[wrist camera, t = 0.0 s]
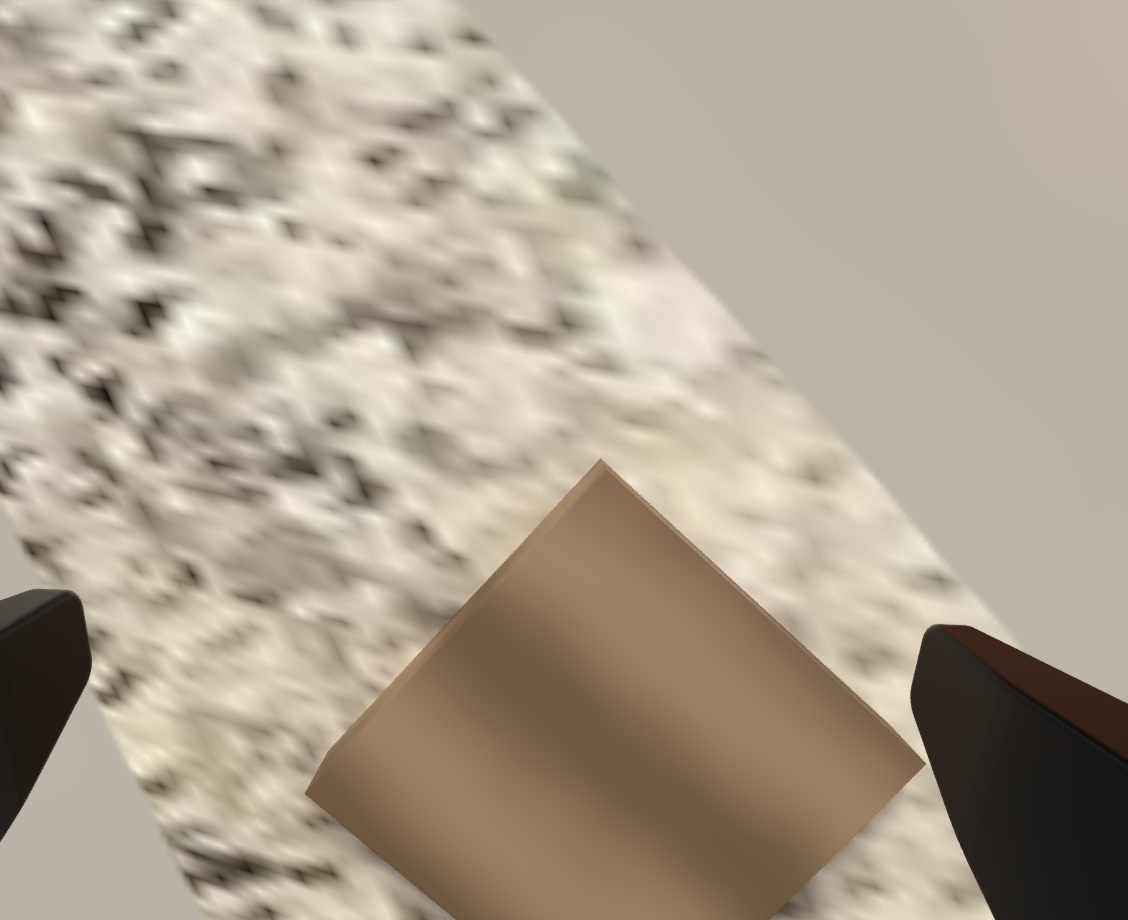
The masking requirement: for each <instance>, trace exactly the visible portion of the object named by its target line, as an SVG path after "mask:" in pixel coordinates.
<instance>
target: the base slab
mask: <svg viewBox="0 0 1128 920" xmlns="http://www.w3.org/2000/svg"><path fill="white" fill-rule="evenodd" d="M925 765H926V763H925V762H924V761H923V760H922V759H921V758H920V757H919V756H918V755H917V753H916V752H915V751H914V750H913V749H912V748H911V747H910V746H909V745H908V744H907V743H906V742H905V741H904V740H903V739H902V738H901V736H900V735H899V734H898V733H897V732H896V731H895V730H894V729H893V728H892V727H891V726H890V725H889V724H888V723H887V722H886V721H885V720H884V719H883V718H882V717H881V716H879V715H878V714H877V713H876V712H875V711H874V710H873V709H872V708H871V707H870V706H869V705H868V704H866V703H865V702H864V701H863V700H862V699H861V698H860V697H859V696H858V695H857V694H856V693H854V692H853V691H852V690H851V689H850V688H849V687H848V686H847V685H846V684H845V683H844V682H843V681H841V680H840V679H839V678H838V677H837V676H836V675H835V674H834V673H833V672H832V671H831V670H830V669H828V668H827V667H826V666H825V665H824V664H823V663H822V662H821V661H820V660H819V659H818V658H816V657H815V656H814V655H813V654H812V653H811V652H810V651H809V650H808V649H807V648H806V647H805V646H803V645H802V644H801V643H800V642H799V641H798V640H797V639H796V638H795V637H794V636H793V635H791V634H790V633H789V632H788V631H787V630H786V629H785V628H784V627H783V626H782V625H781V624H780V623H778V622H777V621H776V620H775V619H774V618H773V617H772V616H771V615H770V614H769V613H768V612H767V611H765V610H764V609H763V608H762V607H761V606H760V605H759V604H758V603H757V602H756V601H755V600H753V599H752V598H751V597H750V596H749V595H748V594H747V593H746V592H745V591H744V590H743V589H742V588H740V587H739V586H738V585H737V584H736V583H735V582H734V581H733V580H732V579H731V578H730V577H728V576H727V575H726V574H725V573H724V572H723V571H722V570H721V569H720V568H719V567H718V566H717V565H715V564H714V563H713V562H712V561H711V560H710V559H709V558H708V557H707V556H706V555H705V554H703V553H702V552H701V551H700V550H699V549H698V548H697V547H696V546H695V545H694V544H693V543H692V542H690V541H689V540H688V539H687V538H686V537H685V536H684V535H683V534H682V533H681V532H680V531H679V530H677V529H676V528H675V527H674V526H673V525H672V524H671V523H670V522H669V521H668V520H667V519H665V518H664V517H663V516H662V515H661V514H660V513H659V512H658V511H657V510H656V509H655V508H654V507H652V506H651V505H650V504H649V503H648V502H647V501H646V500H645V499H644V498H643V497H642V496H640V495H639V494H638V493H637V492H636V491H635V490H634V489H633V488H632V487H631V486H630V485H629V484H627V483H626V482H625V481H624V480H623V479H622V478H621V477H620V476H619V475H618V474H617V473H616V472H614V471H613V470H612V469H611V468H610V467H609V466H608V465H607V464H606V463H605V462H604V461H602V460H601V459H600V460H599V461H598V462H597V463H596V464H595V465H594V466H593V467H592V468H591V469H590V471H589V472H588V473H587V474H586V475H585V476H584V477H583V478H582V479H581V480H580V481H579V482H578V483H577V484H576V486H575V487H574V488H573V489H572V490H571V491H570V492H569V493H568V494H567V495H566V496H565V497H564V498H563V500H562V501H561V502H560V503H559V504H558V505H557V506H556V507H555V508H554V509H553V510H552V511H551V512H550V513H549V515H548V516H547V517H546V518H545V519H544V520H543V521H542V522H541V523H540V524H539V525H538V526H537V527H536V529H535V530H534V531H533V532H532V533H531V534H530V535H529V536H528V537H527V538H526V539H525V540H524V541H523V542H522V544H521V545H520V546H519V547H518V548H517V549H516V550H515V551H514V552H513V553H512V554H511V555H510V556H509V558H508V559H507V560H506V561H505V562H504V563H503V564H502V565H501V566H500V567H499V568H498V569H497V570H496V571H495V573H494V574H493V575H492V576H491V577H490V578H489V579H488V580H487V581H486V582H485V583H484V584H483V585H482V587H481V588H480V589H479V590H478V591H477V592H476V593H475V594H474V595H473V596H472V597H471V598H470V599H469V600H468V602H467V603H466V604H465V605H464V606H463V607H462V608H461V609H460V610H459V611H458V612H457V613H456V614H455V616H454V617H453V618H452V619H451V620H450V621H449V622H448V623H447V624H446V625H445V626H444V627H443V628H442V629H441V631H440V632H439V633H438V634H437V635H436V636H435V637H434V638H433V639H432V640H431V641H430V642H429V643H428V645H427V646H426V647H425V648H424V649H423V650H422V651H421V652H420V653H419V654H418V655H417V656H416V657H415V658H414V660H413V661H412V662H411V663H410V664H409V665H408V666H407V667H406V668H405V669H404V670H403V671H402V672H401V674H400V675H399V676H398V677H397V678H396V679H395V680H394V681H393V682H392V683H391V684H390V685H389V686H388V687H387V689H386V690H385V691H384V692H383V693H382V694H381V695H380V696H379V697H378V698H377V699H376V700H375V701H374V703H373V704H372V705H371V706H370V707H369V708H368V709H367V710H366V711H365V712H364V713H363V714H362V715H361V716H360V718H359V719H358V720H357V721H356V722H355V723H354V724H353V725H352V726H351V727H350V728H349V729H348V730H347V732H346V733H345V734H344V735H343V736H342V737H341V738H340V739H339V740H338V741H337V742H336V743H335V744H334V745H333V747H332V748H331V749H330V750H329V751H328V753H327V755H326V756H325V758H324V760H323V762H322V764H321V765H320V767H319V769H318V771H317V772H316V774H315V776H314V778H313V780H312V781H311V783H310V785H309V787H308V789H307V790H306V792H305V794H306V795H307V796H308V797H309V798H310V799H312V800H313V801H314V802H315V803H316V804H318V805H319V806H320V807H321V808H323V809H324V810H325V811H326V812H327V813H329V814H330V815H331V816H332V817H333V818H335V819H336V820H337V821H338V822H339V823H341V824H342V825H343V826H344V827H345V828H347V829H348V830H349V831H350V832H351V833H353V834H354V835H355V836H356V837H357V838H359V839H360V840H361V841H362V842H363V843H365V844H366V845H367V846H368V847H369V848H371V849H372V850H373V851H374V852H376V853H377V854H378V855H379V856H380V857H382V858H383V859H384V860H385V861H386V862H388V863H389V864H390V865H391V866H392V867H394V868H395V869H396V870H397V871H398V872H400V873H401V874H402V875H403V876H404V877H406V878H407V879H408V880H409V881H410V882H412V883H413V884H414V885H415V886H416V887H418V888H419V889H420V890H421V891H422V892H424V893H425V894H426V895H427V896H429V897H430V898H431V899H432V900H433V901H435V902H436V903H437V904H438V905H439V906H441V907H442V908H443V909H444V910H445V911H447V912H448V913H449V914H450V915H451V916H453V917H454V918H455V919H456V920H770V919H771V918H772V917H773V916H774V915H775V914H776V913H777V912H778V911H779V910H780V909H781V908H782V907H783V906H784V905H785V904H786V903H787V902H788V901H789V900H790V899H791V898H792V897H793V896H794V895H795V894H796V893H797V892H798V891H799V890H800V889H801V888H802V887H803V886H804V885H805V884H806V883H807V882H808V881H809V880H810V879H811V878H812V877H813V876H814V875H815V874H816V873H817V872H818V871H819V870H820V869H821V868H822V867H823V866H824V865H825V864H826V863H827V862H828V861H829V860H830V859H831V858H832V857H833V856H834V855H835V854H836V853H837V852H838V851H839V850H840V849H841V848H842V847H843V846H844V845H845V844H846V843H847V842H848V841H849V840H850V839H851V838H852V837H853V836H854V835H855V834H856V833H857V832H858V831H859V830H860V829H861V828H862V827H863V826H864V825H865V824H866V823H867V822H868V821H869V820H870V819H871V818H872V817H873V816H874V815H875V814H876V813H877V812H878V811H879V810H880V809H881V808H882V807H883V806H884V805H885V804H886V803H887V802H888V801H889V800H890V799H891V798H892V797H893V796H894V795H895V794H896V793H898V792H899V791H900V790H901V789H902V788H903V787H904V786H905V785H906V784H907V783H908V782H909V781H910V780H911V779H912V778H913V777H914V776H915V775H916V774H917V773H918V772H919V771H920V770H921V769H922V768H923V767H924V766H925Z"/></svg>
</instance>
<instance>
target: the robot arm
mask: <svg viewBox="0 0 1128 920" xmlns="http://www.w3.org/2000/svg"><path fill="white" fill-rule="evenodd" d="M91 667H92V656H91V650H90V644H89V638H88V633H87V627H86V621H85V616H84V610H83V605H82V602H81V600H80V598H79V596H78V595H77V594H75V593H74V592H73V591H70V590H56V589H32V590H29V591H26V592H23V593H20V594H17V595H14V596H12V597H9V598H6V599H3V600H0V842H1V840H2V839H3V837H4V836H5V834H6V833H7V831H8V829H9V828H10V826H11V824H12V823H13V821H14V820H15V818H16V816H17V815H18V813H19V812H20V810H21V808H22V806H23V805H24V803H25V801H26V799H27V798H28V796H29V794H30V792H31V790H32V789H33V787H34V784H35V783H36V781H37V779H38V777H39V775H40V773H41V771H42V769H43V767H44V766H45V764H46V762H47V760H48V758H49V756H50V754H51V752H52V750H53V748H54V746H55V744H56V742H57V740H58V738H59V736H60V735H61V733H62V731H63V729H64V727H65V725H66V723H67V721H68V719H69V717H70V715H71V713H72V711H73V709H74V707H75V705H76V704H77V702H78V700H79V698H80V696H81V694H82V692H83V690H84V688H85V686H86V684H87V682H88V679H89V676H90V673H91ZM910 699H911V707H912V712H913V715H914V718H915V721H916V724H917V727H918V729H919V732H920V735H921V738H922V741H923V744H924V747H925V750H926V752H927V755H928V758H929V761H930V764H931V767H932V770H933V773H934V775H935V778H936V781H937V784H938V787H939V790H940V793H941V796H942V798H943V801H944V804H945V807H946V810H947V813H948V816H949V818H950V821H951V824H952V826H953V829H954V831H955V834H956V837H957V839H958V841H959V844H960V846H961V848H962V850H963V853H964V855H965V857H966V859H967V862H968V864H969V866H970V868H971V870H972V872H973V874H974V876H975V879H976V881H977V883H978V885H979V887H980V889H981V891H982V893H983V895H984V898H985V900H986V902H987V904H988V906H989V908H990V910H991V912H992V914H993V917H994V919H995V920H1128V704H1127V703H1125V702H1123V701H1121V700H1119V699H1117V698H1115V697H1113V696H1111V695H1109V694H1107V693H1105V692H1103V691H1101V690H1099V689H1097V688H1095V687H1093V686H1091V685H1089V684H1087V683H1084V682H1083V681H1081V680H1079V679H1077V678H1075V677H1073V676H1070V675H1068V674H1066V673H1064V672H1062V671H1060V670H1058V669H1056V668H1054V667H1052V666H1050V665H1048V664H1046V663H1044V662H1042V661H1040V660H1038V659H1036V658H1034V657H1032V656H1030V655H1028V654H1026V653H1024V652H1022V651H1020V650H1018V649H1016V648H1014V647H1012V646H1010V645H1008V644H1006V643H1004V642H1002V641H1000V640H997V639H995V638H993V637H991V636H989V635H987V634H985V633H983V632H981V631H979V630H977V629H975V628H973V627H971V626H966V625H947V624H936V625H932V626H931V627H929V628H928V629H927V630H926V632H925V634H924V636H923V639H922V643H921V647H920V652H919V656H918V660H917V665H916V669H915V673H914V677H913V682H912V686H911V694H910Z"/></svg>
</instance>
